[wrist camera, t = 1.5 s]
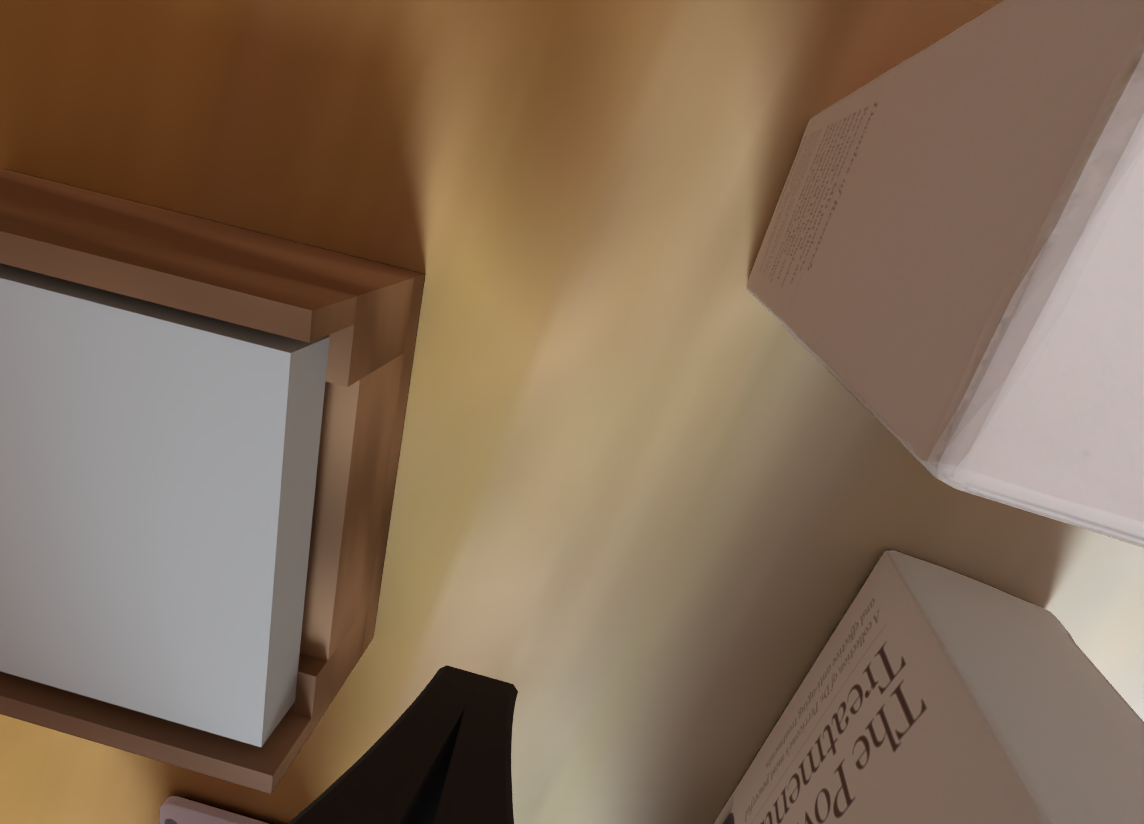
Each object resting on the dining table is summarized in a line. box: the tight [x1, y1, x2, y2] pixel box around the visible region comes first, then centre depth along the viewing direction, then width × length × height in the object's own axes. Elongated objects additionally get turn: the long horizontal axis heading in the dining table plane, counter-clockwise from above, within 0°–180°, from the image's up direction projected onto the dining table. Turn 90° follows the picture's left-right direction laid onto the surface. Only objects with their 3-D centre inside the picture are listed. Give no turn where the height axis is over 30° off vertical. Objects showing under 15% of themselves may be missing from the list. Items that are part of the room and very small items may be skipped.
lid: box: [0, 263, 330, 747], centre depth 15 cm, size 10×10×2 cm
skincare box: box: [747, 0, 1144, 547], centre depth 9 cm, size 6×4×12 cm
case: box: [0, 169, 425, 794], centre depth 16 cm, size 12×12×6 cm
